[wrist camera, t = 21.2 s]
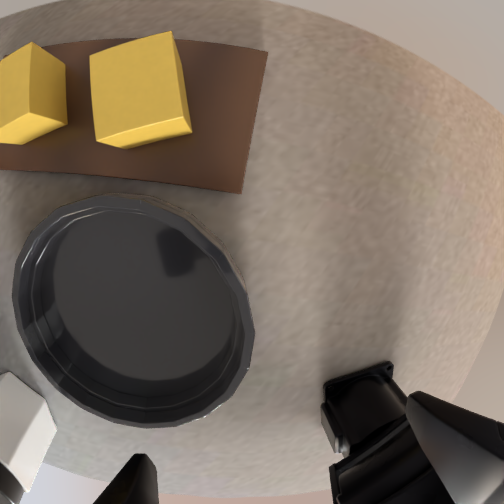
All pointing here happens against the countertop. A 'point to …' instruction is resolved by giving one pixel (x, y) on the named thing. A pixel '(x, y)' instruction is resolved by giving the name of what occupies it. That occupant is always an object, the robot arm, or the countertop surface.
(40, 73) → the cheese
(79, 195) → the countertop surface
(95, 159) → the board
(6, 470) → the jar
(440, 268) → the countertop surface
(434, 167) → the countertop surface
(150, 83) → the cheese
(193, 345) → the pan
